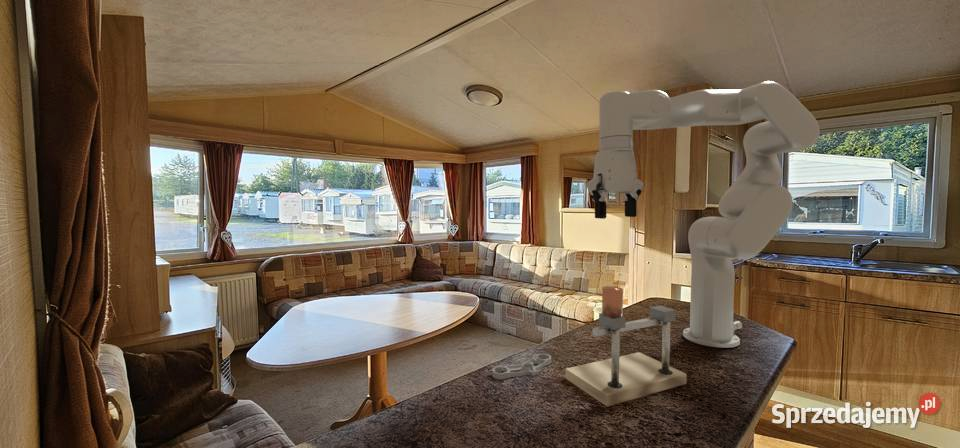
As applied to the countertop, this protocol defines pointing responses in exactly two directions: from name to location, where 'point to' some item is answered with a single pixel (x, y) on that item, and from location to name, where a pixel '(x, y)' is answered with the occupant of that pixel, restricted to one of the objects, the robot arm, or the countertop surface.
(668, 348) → the frame
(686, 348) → the countertop surface
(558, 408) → the countertop surface
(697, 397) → the countertop surface
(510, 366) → the bracket
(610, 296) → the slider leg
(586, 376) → the board
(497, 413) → the countertop surface
